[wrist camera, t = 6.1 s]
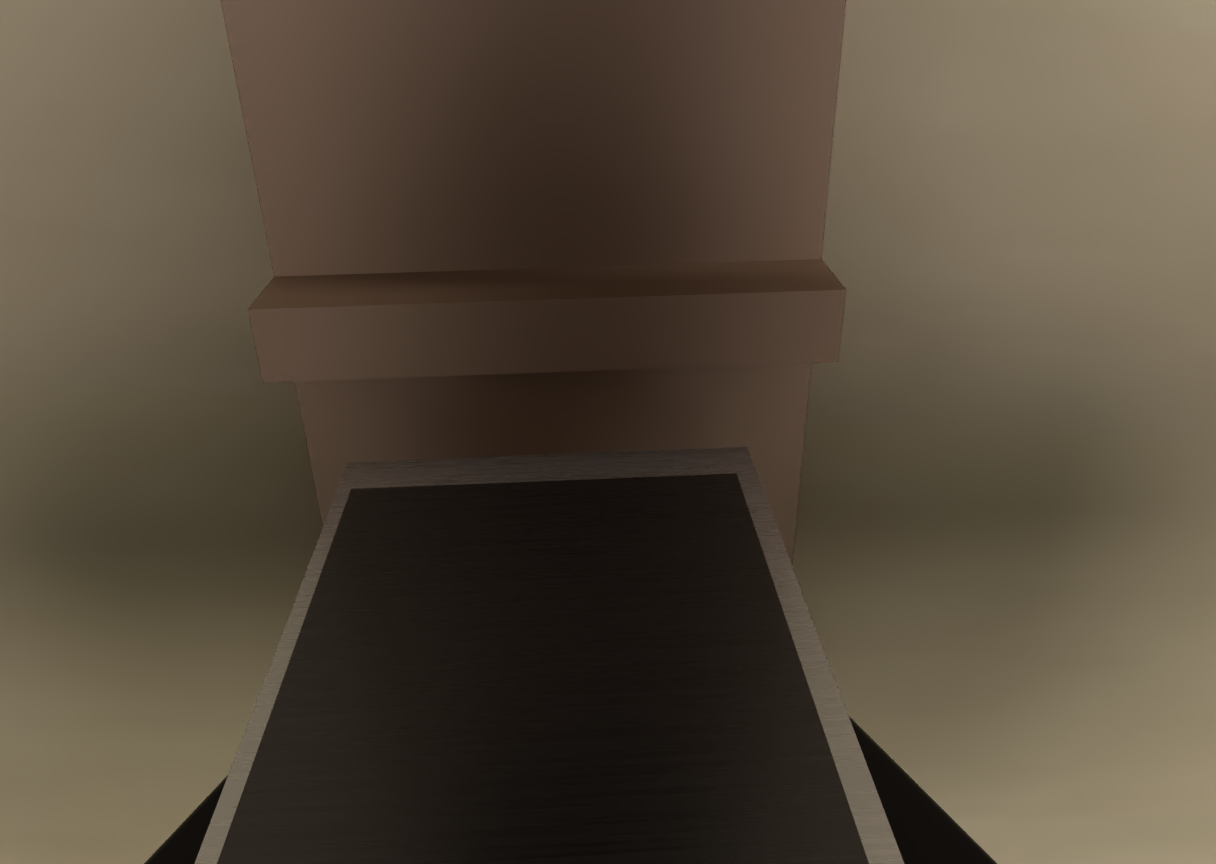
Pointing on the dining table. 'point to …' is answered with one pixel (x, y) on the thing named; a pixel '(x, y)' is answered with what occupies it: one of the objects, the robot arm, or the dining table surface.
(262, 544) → the dining table surface
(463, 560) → the block
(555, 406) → the rail
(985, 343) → the dining table surface
